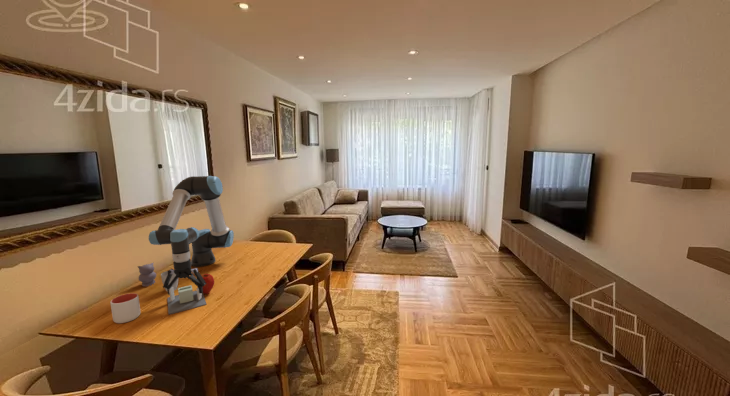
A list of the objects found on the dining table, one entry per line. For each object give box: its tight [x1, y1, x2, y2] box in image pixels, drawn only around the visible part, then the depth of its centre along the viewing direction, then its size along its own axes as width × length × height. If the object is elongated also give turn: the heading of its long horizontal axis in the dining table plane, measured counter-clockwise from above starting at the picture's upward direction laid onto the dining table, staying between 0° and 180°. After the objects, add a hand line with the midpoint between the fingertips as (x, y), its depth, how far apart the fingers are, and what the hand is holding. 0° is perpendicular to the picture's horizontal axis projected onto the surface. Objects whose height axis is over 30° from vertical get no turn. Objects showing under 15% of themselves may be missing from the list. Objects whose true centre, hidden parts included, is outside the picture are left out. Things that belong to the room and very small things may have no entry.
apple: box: [201, 273, 215, 295], centre depth 160 cm, size 9×8×11 cm
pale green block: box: [177, 284, 194, 304], centre depth 151 cm, size 6×6×7 cm
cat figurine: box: [137, 262, 157, 287], centre depth 172 cm, size 8×8×12 cm
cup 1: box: [109, 292, 141, 324], centre depth 136 cm, size 10×10×10 cm
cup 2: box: [160, 270, 179, 293], centre depth 165 cm, size 8×8×10 cm
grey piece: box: [167, 290, 207, 316], centre depth 151 cm, size 20×16×5 cm
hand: (186, 299), depth 152 cm, fingers open, 13 cm apart
